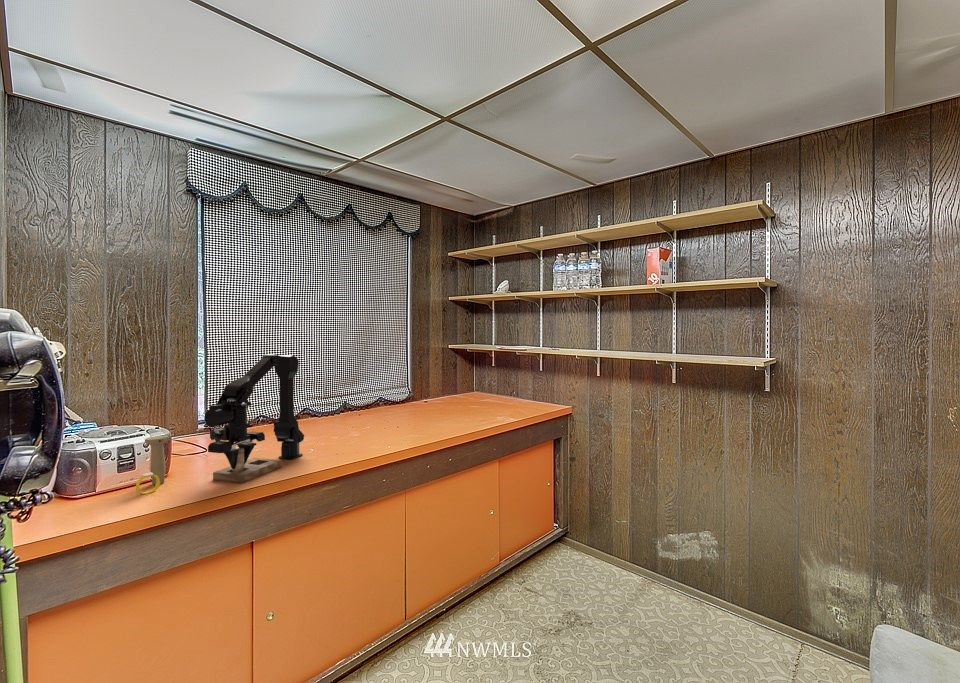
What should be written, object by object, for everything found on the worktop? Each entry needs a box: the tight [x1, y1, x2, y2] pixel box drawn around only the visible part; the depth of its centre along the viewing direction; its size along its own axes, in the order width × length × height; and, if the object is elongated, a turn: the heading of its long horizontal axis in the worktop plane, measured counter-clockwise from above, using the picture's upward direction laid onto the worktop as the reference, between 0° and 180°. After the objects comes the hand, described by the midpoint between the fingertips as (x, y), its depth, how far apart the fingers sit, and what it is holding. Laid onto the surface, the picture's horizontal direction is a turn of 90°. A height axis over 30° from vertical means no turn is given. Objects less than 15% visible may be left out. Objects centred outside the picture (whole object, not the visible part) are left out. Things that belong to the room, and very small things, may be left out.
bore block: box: [212, 457, 283, 484], centre depth 158 cm, size 18×12×2 cm, turn 163°
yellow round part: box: [135, 471, 161, 495], centre depth 139 cm, size 6×3×6 cm, turn 151°
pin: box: [232, 447, 244, 473], centre depth 154 cm, size 4×4×8 cm
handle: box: [144, 434, 170, 486], centre depth 147 cm, size 5×6×15 cm
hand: (238, 467), depth 154 cm, fingers closed on pin, 4 cm apart
